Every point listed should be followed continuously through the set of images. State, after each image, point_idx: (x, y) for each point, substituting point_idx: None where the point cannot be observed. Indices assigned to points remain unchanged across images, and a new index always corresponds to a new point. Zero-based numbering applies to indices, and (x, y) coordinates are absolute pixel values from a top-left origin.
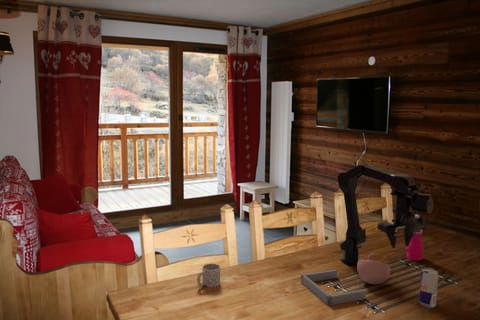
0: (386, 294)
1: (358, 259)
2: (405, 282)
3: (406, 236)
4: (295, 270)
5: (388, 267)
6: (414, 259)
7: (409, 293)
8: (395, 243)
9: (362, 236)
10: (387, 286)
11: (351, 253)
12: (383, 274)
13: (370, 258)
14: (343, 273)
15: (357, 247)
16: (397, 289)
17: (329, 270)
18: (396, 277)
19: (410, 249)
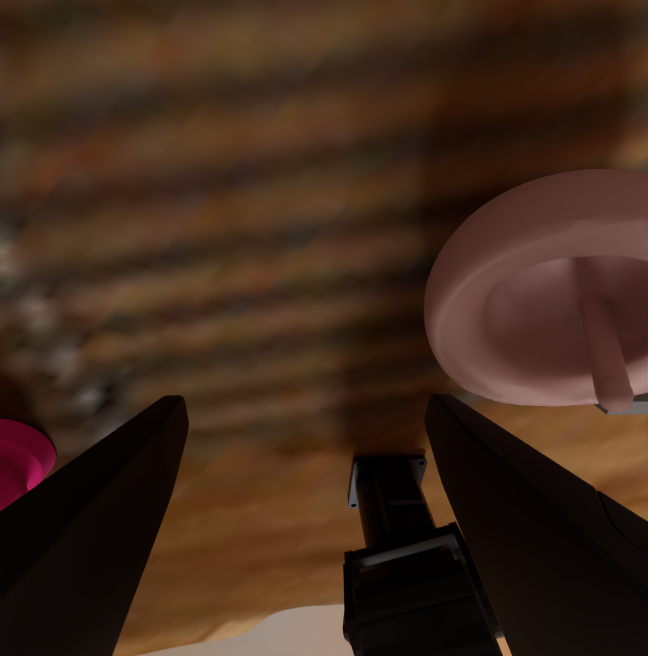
0: (562, 96)
1: (382, 477)
2: (297, 200)
3: (98, 610)
4: (641, 471)
5: (578, 195)
6: (24, 429)
7: (412, 26)
8: (487, 442)
9: (416, 647)
10: (452, 198)
11: (429, 515)
12: (616, 169)
13: (614, 370)
14: (511, 404)
15: (380, 553)
16: (433, 130)
17: (640, 412)
18: (298, 282)
19: (3, 495)
